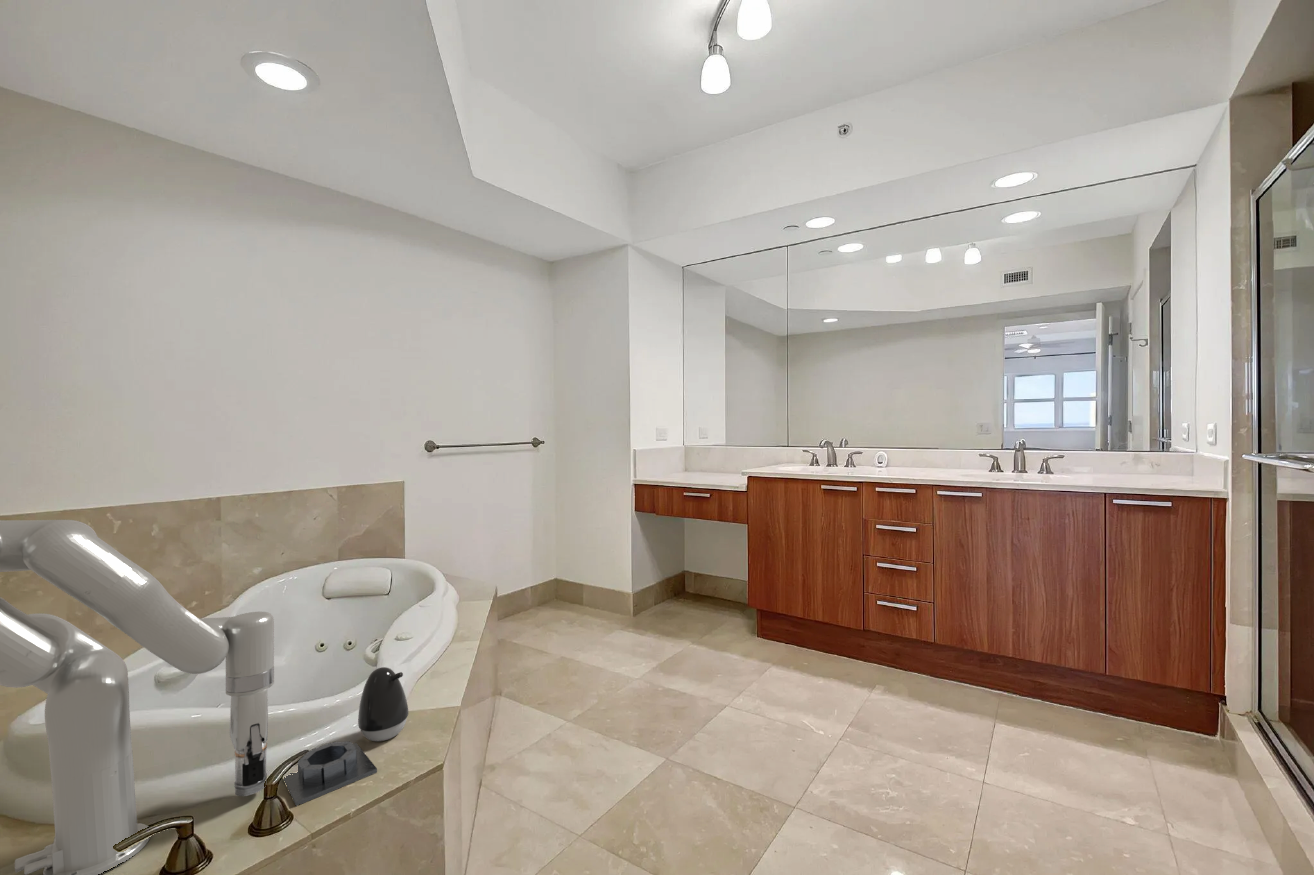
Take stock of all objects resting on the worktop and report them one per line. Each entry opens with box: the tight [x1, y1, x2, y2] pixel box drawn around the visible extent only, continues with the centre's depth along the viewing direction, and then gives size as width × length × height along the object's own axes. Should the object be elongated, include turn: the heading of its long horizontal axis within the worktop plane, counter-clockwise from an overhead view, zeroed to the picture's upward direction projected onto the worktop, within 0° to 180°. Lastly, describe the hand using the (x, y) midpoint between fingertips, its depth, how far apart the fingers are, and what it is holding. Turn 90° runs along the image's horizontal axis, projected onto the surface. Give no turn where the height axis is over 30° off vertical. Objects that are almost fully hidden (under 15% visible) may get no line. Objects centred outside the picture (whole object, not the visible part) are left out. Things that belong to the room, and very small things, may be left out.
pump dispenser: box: [357, 666, 409, 742], centre depth 129 cm, size 10×10×15 cm
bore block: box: [283, 741, 378, 807], centre depth 115 cm, size 14×14×4 cm
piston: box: [233, 741, 268, 797], centre depth 109 cm, size 5×5×9 cm
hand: (250, 775), depth 108 cm, fingers closed on piston, 4 cm apart
